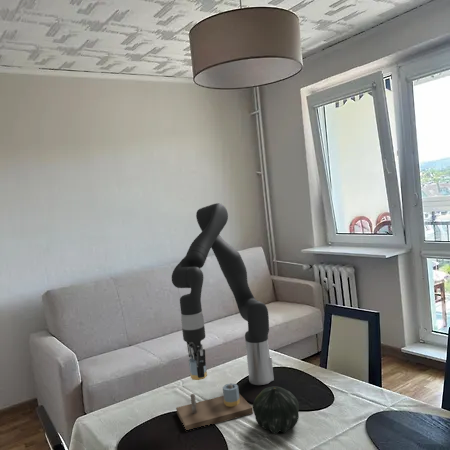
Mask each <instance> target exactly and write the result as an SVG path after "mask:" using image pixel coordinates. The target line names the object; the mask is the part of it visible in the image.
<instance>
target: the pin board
mask: <svg viewBox="0 0 450 450" xmlns="http://www.w3.org/2000/svg"><path fill="white" fill-rule="evenodd" d="M229 384H230V383H229ZM232 388H233V386H232V385H231V384H230V385H229V386H228V389H232ZM239 398H240V403H239V404H238V405H236V406H233V407H230V406H226V405H225V404H224V396H223V395H221V396H217V397H213V398H209V399H205V400H201V401H196V395H195V393H191V394H190V402H191V403H189V404H185V405H181V406H177V407H176V408H175V410H176V415H177V416H178V418H179V420H180V423H181V424H182V423H183V424H182V426H183V425H184V426H183V428H184V427H185V428H184V429H186V430H189V429H193V428H197V427H201V426H204V427H206V426H205V425H208V426H211V425H210V424H212V425H214V424H215V425H216V424H218V423H222V422H226V421H230V420H234V419H237V418H241V417H245V416H249V415H250V414H254V411H253V406H251V405H250V403H249V402H248V401H247V400H246V399H245V397H244V396H242V395H241V393H240V392H239ZM201 428H202V427H201ZM197 429H198V428H197ZM186 430H185V431H186ZM193 430H194V429H193Z"/></svg>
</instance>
